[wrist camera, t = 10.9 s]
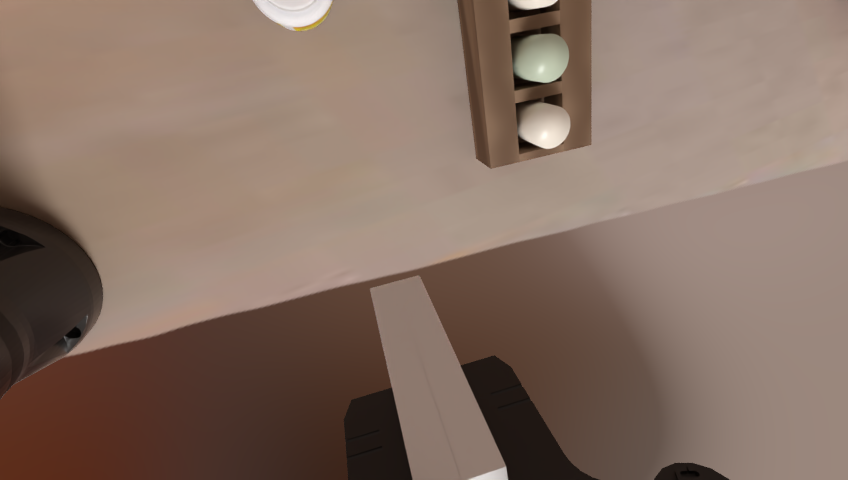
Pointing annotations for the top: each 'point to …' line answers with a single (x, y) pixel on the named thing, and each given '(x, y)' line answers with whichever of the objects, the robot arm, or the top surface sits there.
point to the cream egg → (542, 123)
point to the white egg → (528, 4)
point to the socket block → (498, 91)
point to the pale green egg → (539, 57)
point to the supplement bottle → (295, 12)
